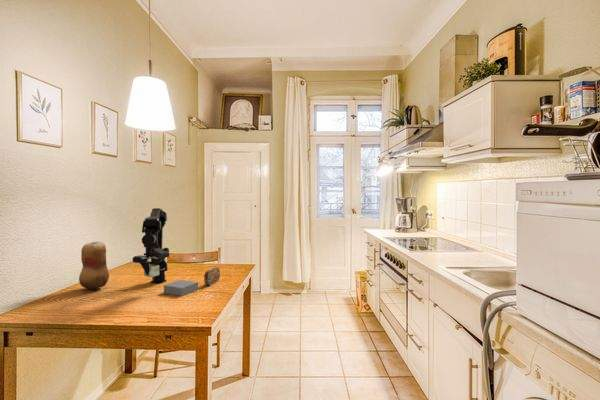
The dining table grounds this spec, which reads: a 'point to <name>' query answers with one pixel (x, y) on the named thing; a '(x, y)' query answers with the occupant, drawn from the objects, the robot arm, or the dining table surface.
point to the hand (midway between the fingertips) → (151, 273)
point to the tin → (211, 276)
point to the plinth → (180, 287)
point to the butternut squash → (94, 266)
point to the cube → (152, 271)
